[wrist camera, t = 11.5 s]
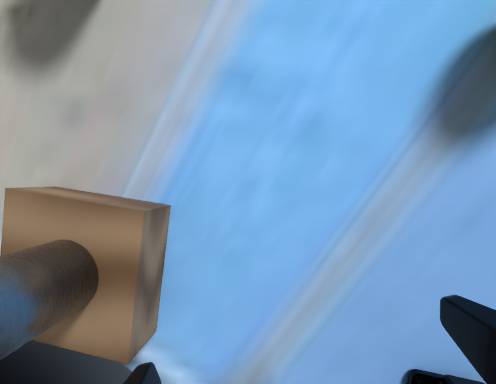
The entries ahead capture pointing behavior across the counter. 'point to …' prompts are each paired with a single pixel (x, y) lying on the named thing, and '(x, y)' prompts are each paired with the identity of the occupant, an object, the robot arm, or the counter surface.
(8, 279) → the tea tin
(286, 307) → the counter surface
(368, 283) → the counter surface
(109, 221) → the walnut block
